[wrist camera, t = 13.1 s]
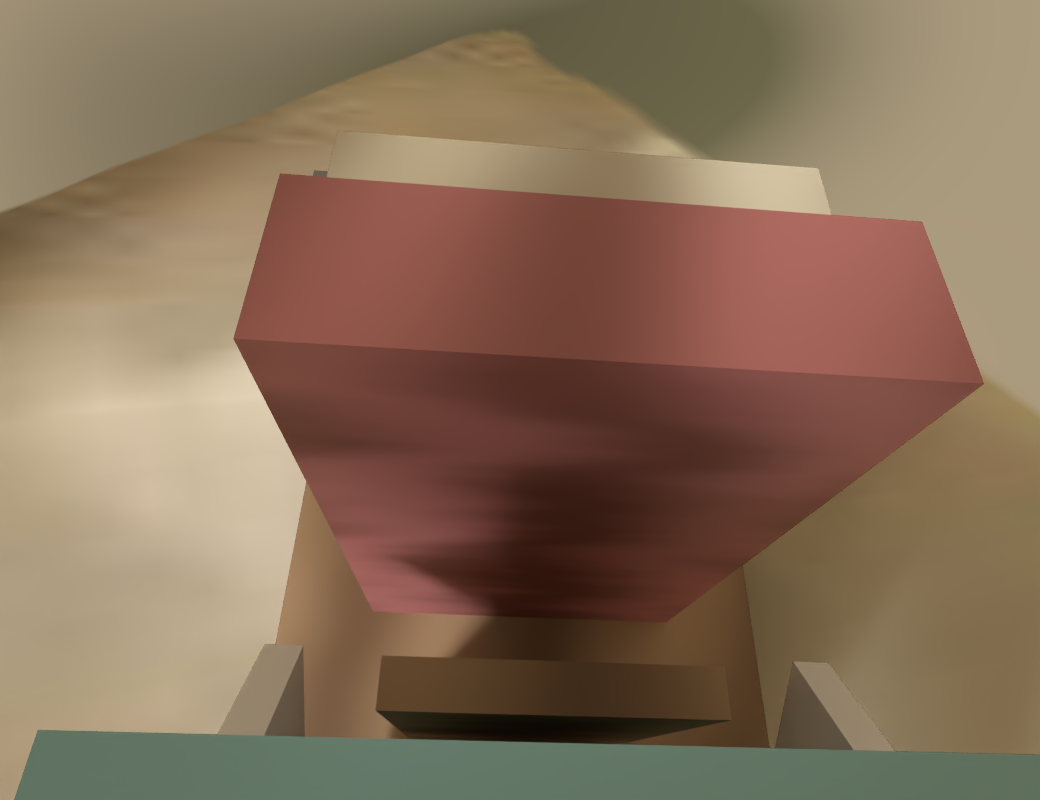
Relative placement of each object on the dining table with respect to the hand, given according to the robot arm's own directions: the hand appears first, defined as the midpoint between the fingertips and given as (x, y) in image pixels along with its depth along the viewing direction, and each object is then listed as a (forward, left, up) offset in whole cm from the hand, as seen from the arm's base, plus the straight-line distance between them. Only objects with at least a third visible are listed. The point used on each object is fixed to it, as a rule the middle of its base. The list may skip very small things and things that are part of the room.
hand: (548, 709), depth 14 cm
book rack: (0, +3, -9) cm, 10 cm away
